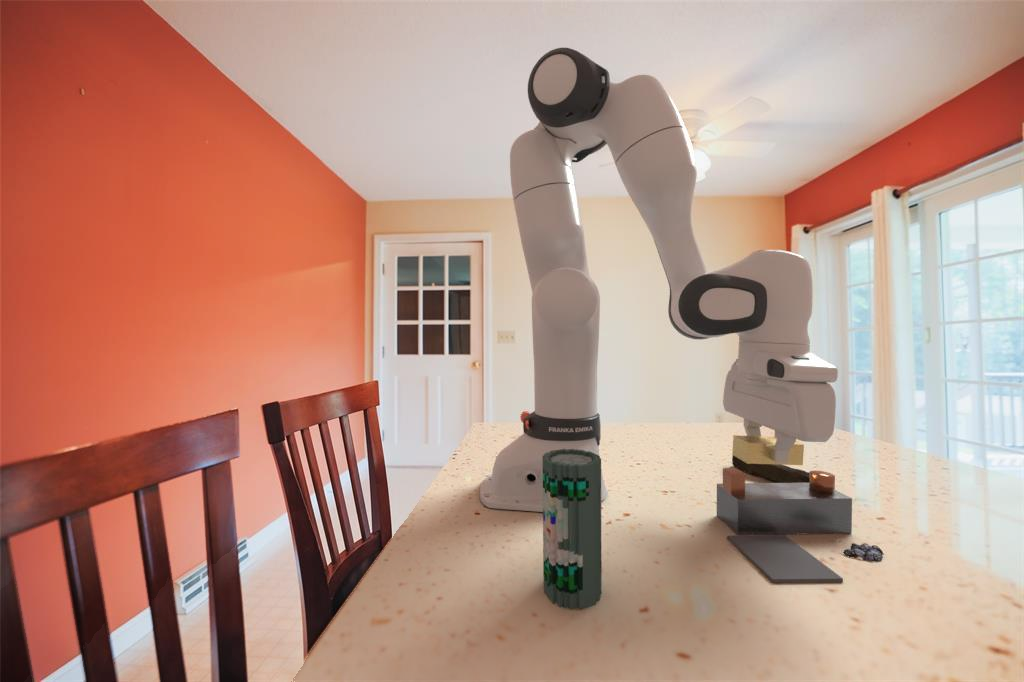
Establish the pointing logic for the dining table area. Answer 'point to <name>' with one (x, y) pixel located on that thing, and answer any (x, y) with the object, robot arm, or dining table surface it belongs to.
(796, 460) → the gold metallic block
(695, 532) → the dining table surface
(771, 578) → the mat
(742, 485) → the plane body
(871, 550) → the blueberries
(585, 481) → the can
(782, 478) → the hand tool
